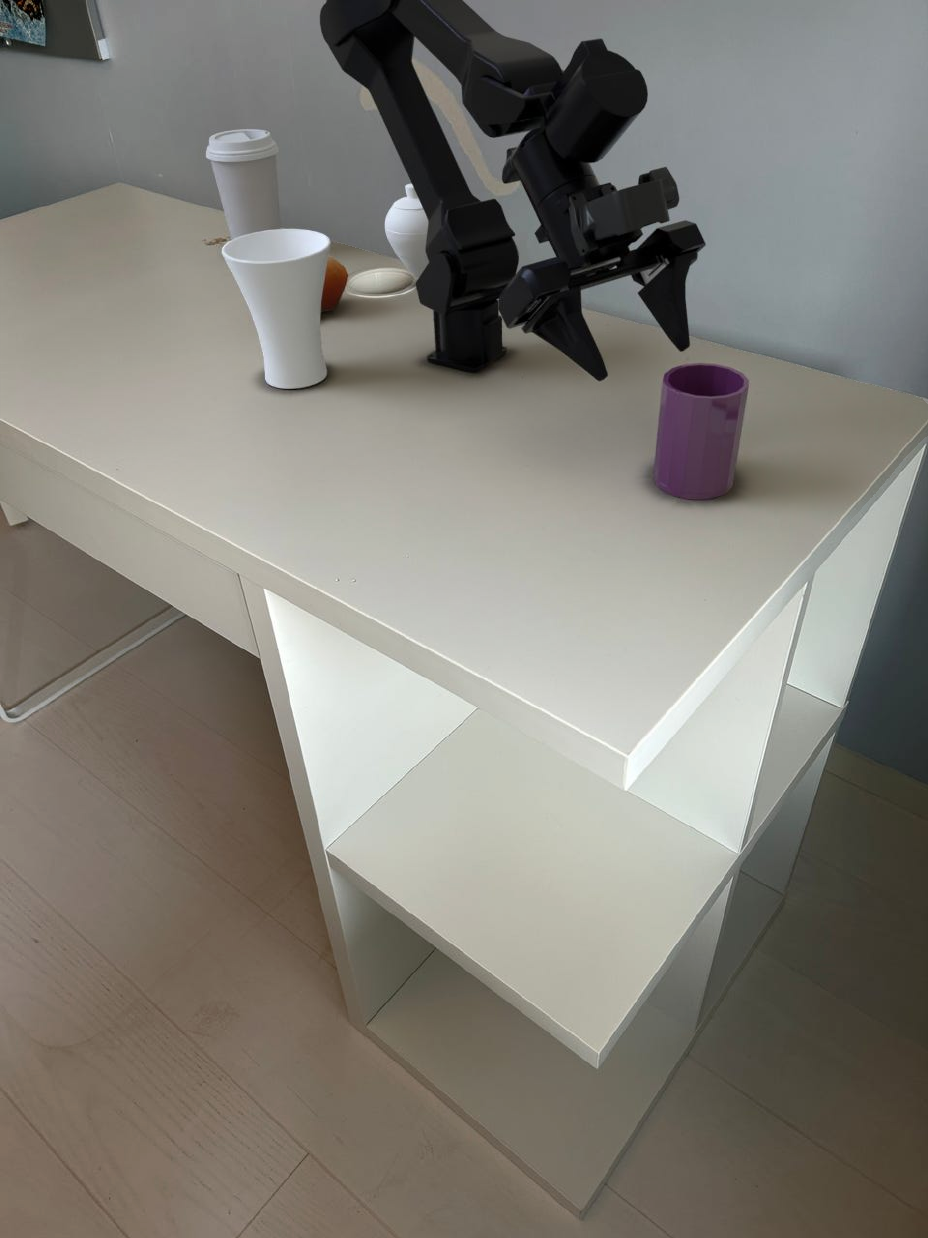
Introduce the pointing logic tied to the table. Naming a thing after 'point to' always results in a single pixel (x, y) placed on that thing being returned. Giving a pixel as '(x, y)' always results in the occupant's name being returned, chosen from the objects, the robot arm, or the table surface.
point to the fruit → (333, 284)
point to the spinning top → (408, 231)
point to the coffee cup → (246, 179)
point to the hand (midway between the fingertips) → (645, 363)
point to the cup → (284, 299)
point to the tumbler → (699, 430)
